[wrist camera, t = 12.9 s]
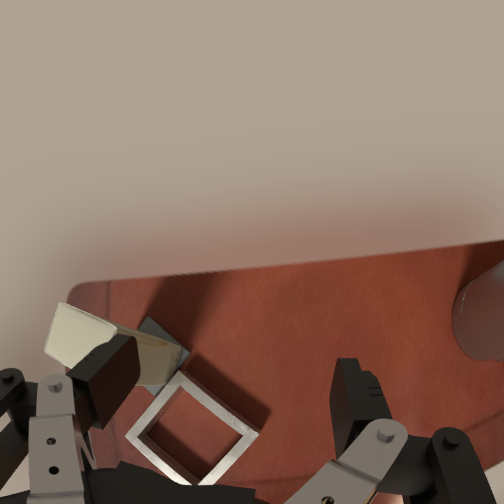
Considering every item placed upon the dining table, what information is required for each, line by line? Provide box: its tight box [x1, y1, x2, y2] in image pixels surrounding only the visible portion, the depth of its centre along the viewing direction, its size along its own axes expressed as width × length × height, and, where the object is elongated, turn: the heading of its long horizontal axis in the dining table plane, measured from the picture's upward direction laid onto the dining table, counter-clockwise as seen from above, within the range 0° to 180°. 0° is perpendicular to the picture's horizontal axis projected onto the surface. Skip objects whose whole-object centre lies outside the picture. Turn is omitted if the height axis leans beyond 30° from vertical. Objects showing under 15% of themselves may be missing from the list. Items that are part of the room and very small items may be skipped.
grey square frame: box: [125, 370, 261, 485], centre depth 26 cm, size 10×10×2 cm
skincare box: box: [44, 302, 181, 385], centre depth 24 cm, size 6×4×12 cm
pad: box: [138, 316, 191, 396], centre depth 30 cm, size 6×6×1 cm
